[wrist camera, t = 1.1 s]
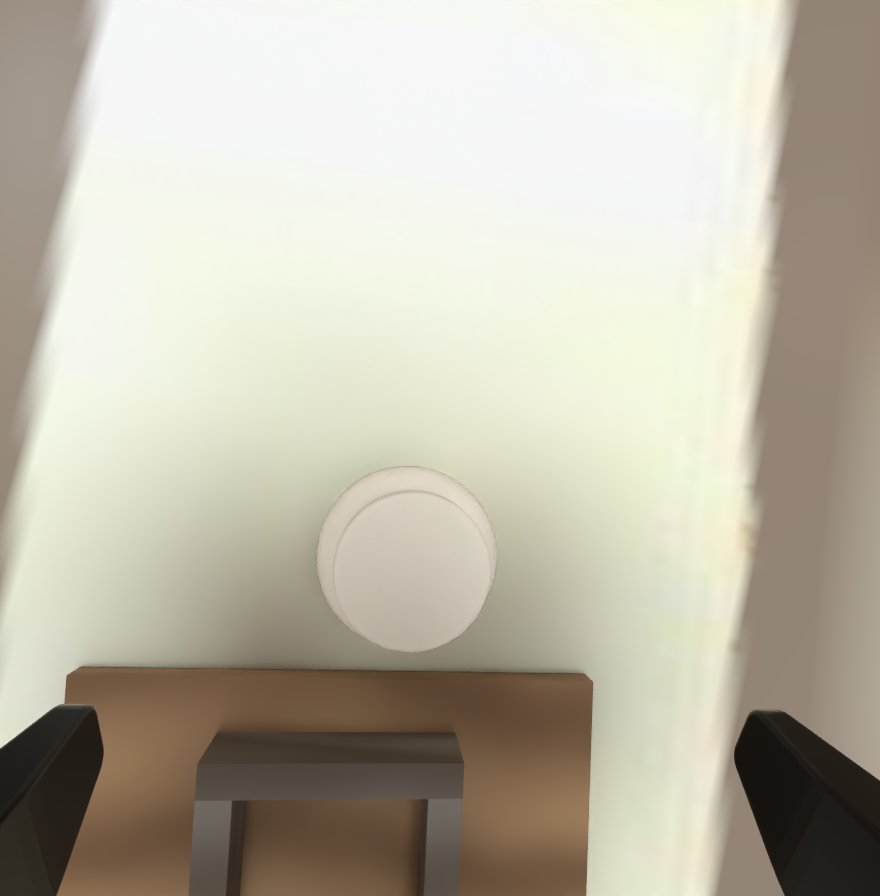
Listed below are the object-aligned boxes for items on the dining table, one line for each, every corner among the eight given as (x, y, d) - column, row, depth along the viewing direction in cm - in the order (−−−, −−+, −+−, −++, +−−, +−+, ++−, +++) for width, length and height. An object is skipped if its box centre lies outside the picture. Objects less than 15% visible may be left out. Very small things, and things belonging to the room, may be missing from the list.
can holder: (573, 998, 24) (606, 1086, 21) (53, 1021, 22) (-8, 1122, 19) (584, 673, 25) (618, 705, 21) (80, 666, 23) (26, 700, 19)
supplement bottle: (448, 613, 24) (494, 704, 15) (318, 585, 24) (278, 659, 14) (477, 485, 25) (541, 492, 15) (351, 455, 24) (333, 441, 15)
